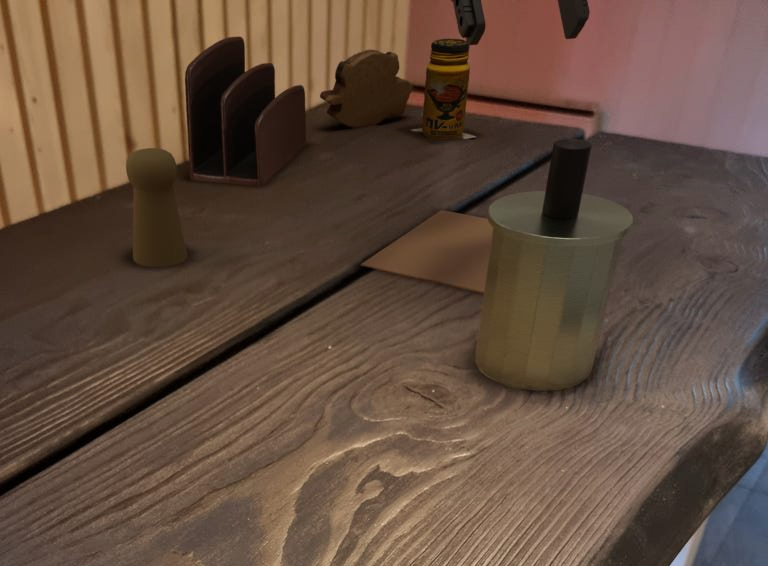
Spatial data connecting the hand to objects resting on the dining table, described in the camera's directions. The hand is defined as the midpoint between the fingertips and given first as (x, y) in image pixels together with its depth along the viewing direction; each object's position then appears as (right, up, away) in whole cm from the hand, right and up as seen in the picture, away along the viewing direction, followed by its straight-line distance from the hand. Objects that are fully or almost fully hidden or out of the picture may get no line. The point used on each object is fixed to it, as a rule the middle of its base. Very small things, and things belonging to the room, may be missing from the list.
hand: (527, 35), depth 73 cm
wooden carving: (-7, +30, +67) cm, 74 cm away
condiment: (+3, +26, +63) cm, 69 cm away
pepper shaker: (-33, -7, +28) cm, 44 cm away
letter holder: (-24, +17, +53) cm, 61 cm away
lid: (+3, -15, 0) cm, 15 cm away
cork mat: (+3, -6, +28) cm, 29 cm away
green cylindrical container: (+3, -24, +9) cm, 25 cm away
